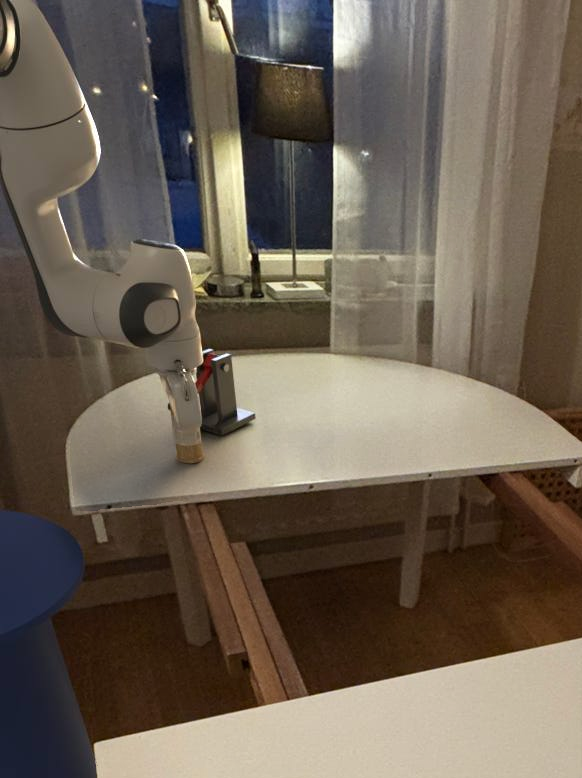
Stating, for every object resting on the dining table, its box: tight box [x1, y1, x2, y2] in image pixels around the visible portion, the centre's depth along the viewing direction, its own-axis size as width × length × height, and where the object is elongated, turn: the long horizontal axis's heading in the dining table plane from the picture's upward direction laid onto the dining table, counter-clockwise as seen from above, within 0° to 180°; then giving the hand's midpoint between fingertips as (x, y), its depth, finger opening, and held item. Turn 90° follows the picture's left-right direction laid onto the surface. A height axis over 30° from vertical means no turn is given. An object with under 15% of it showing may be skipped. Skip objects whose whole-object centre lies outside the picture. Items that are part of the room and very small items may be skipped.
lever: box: [167, 353, 220, 412], centre depth 139 cm, size 13×5×2 cm
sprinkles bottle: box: [166, 384, 204, 464], centre depth 130 cm, size 5×5×14 cm
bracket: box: [195, 348, 257, 436], centre depth 144 cm, size 10×9×13 cm
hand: (185, 432), depth 131 cm, fingers open, 8 cm apart
